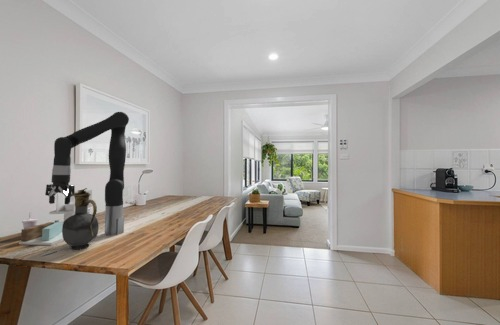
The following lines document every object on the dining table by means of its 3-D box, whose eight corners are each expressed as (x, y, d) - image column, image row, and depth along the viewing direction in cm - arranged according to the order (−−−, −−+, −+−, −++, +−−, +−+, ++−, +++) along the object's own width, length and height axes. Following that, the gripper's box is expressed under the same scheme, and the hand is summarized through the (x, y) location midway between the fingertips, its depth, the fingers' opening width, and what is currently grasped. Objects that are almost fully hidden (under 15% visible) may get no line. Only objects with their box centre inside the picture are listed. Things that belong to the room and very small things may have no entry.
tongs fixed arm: (48, 232, 125) (49, 222, 126) (53, 232, 125) (54, 222, 126) (21, 241, 110) (21, 229, 111) (26, 241, 110) (27, 229, 111)
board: (82, 233, 130) (82, 231, 130) (51, 245, 110) (51, 242, 110) (55, 232, 130) (55, 230, 130) (19, 244, 110) (19, 242, 110)
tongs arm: (55, 232, 127) (55, 220, 128) (64, 231, 129) (64, 219, 129) (38, 241, 111) (39, 228, 111) (49, 240, 113) (49, 227, 113)
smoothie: (18, 239, 118) (20, 213, 118) (24, 235, 123) (25, 211, 124) (34, 237, 121) (35, 212, 121) (39, 234, 126) (40, 210, 127)
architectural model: (80, 231, 134) (81, 194, 134) (41, 232, 130) (43, 194, 131) (102, 220, 161) (104, 189, 162) (71, 221, 157) (72, 190, 158)
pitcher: (82, 241, 115) (84, 186, 116) (105, 247, 108) (107, 188, 109) (58, 248, 105) (60, 188, 106) (81, 255, 98) (84, 190, 99)
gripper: (79, 174, 119) (77, 203, 118) (55, 173, 119) (53, 202, 119) (67, 174, 111) (65, 205, 111) (41, 173, 112) (39, 204, 111)
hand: (59, 203), depth 115 cm, fingers open, 8 cm apart
